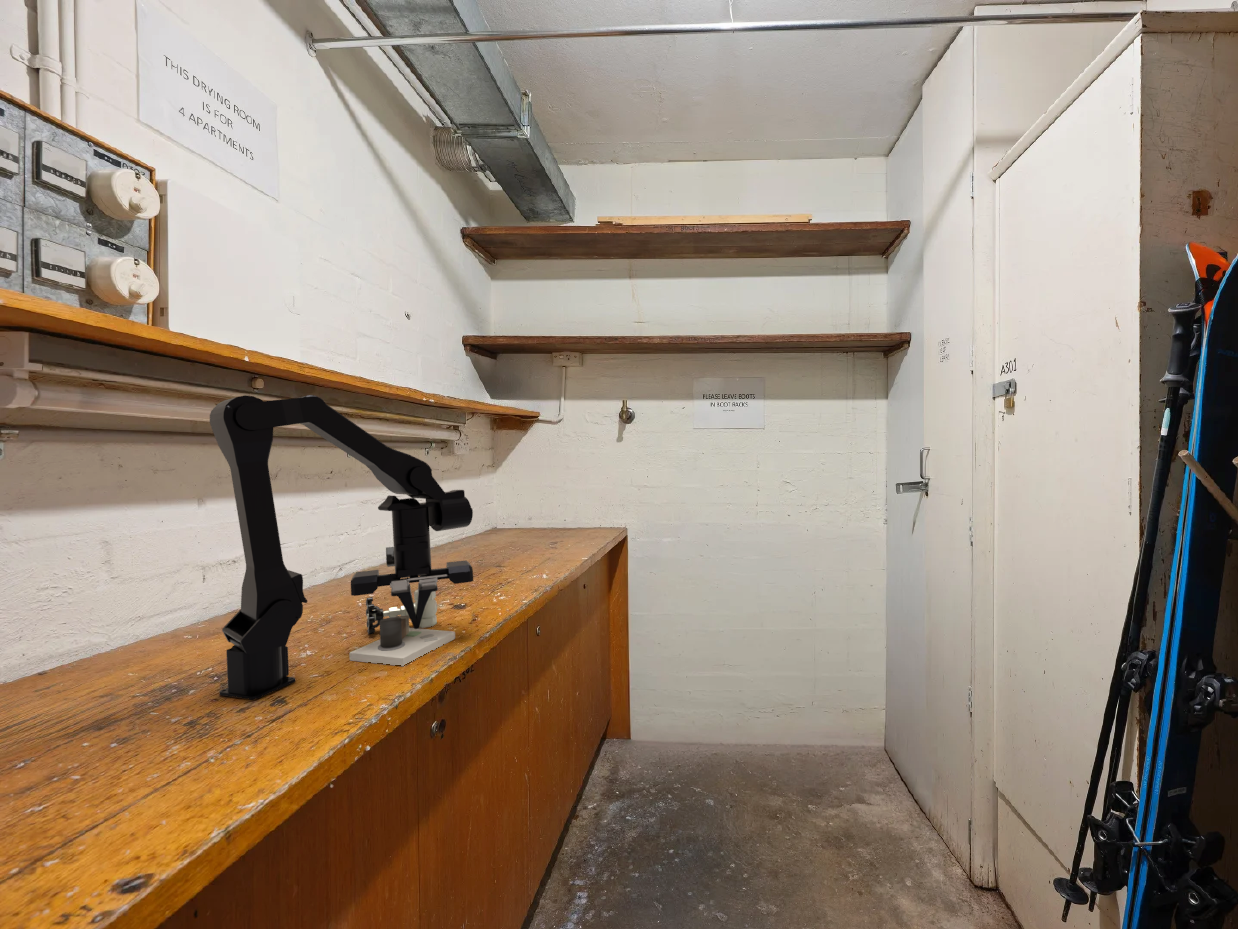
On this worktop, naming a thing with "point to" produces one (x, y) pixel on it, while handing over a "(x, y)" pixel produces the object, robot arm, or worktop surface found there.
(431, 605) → the valve
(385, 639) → the lever
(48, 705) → the worktop surface
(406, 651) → the dial board
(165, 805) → the worktop surface
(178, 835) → the worktop surface
